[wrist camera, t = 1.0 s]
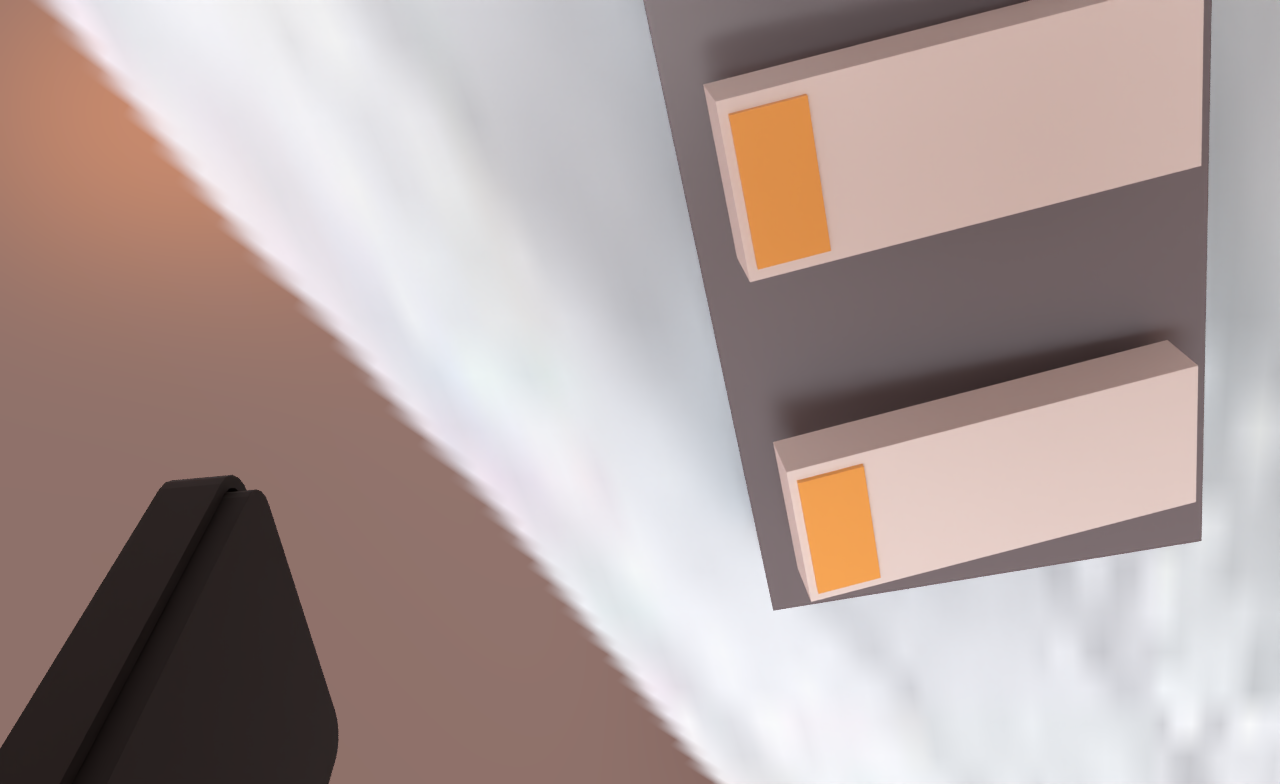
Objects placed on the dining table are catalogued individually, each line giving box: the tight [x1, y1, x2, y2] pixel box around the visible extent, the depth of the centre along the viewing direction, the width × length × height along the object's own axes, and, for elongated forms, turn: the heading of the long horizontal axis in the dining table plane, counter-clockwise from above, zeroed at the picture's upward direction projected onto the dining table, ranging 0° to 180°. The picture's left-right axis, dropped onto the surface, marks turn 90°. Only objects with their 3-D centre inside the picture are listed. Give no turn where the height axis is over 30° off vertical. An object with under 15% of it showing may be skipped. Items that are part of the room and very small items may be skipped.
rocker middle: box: [703, 0, 1204, 282], centre depth 25 cm, size 10×4×2 cm, turn 102°
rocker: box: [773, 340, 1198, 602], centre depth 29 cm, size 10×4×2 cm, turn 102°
